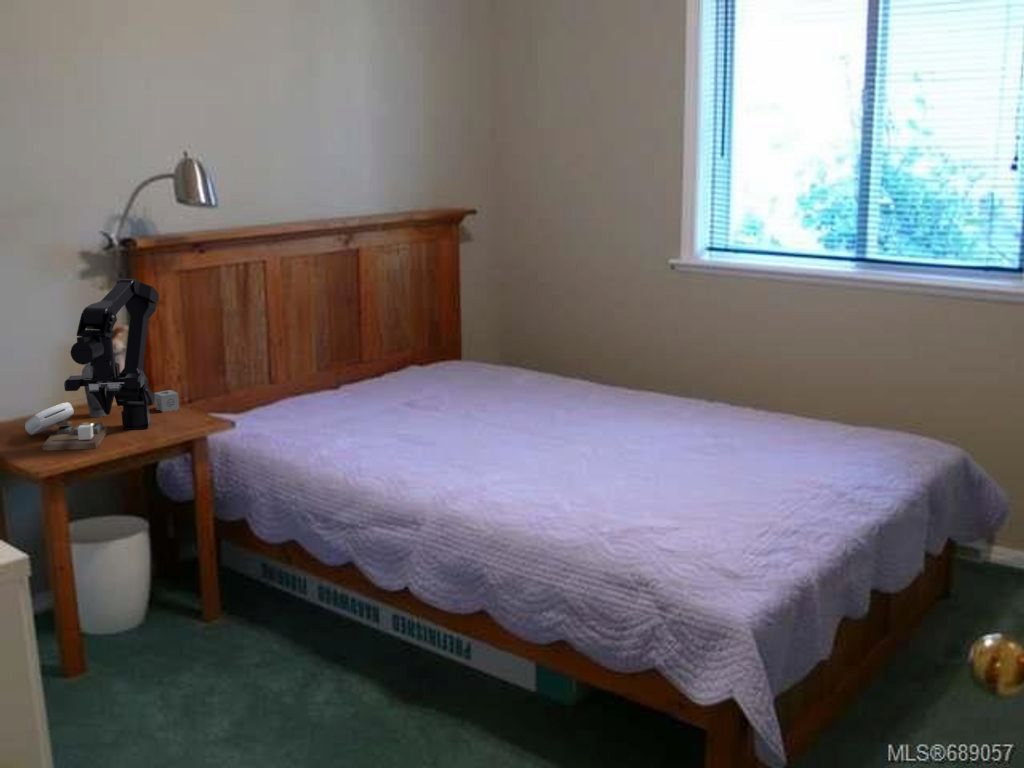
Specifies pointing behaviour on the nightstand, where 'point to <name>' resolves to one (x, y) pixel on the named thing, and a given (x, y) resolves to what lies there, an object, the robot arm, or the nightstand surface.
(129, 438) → the nightstand surface
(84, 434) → the slider knob
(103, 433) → the control panel
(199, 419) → the nightstand surface
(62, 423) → the rocker switch
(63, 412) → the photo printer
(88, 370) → the beverage cup
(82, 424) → the brass button
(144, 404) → the robot arm
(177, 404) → the dice cube
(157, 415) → the nightstand surface
